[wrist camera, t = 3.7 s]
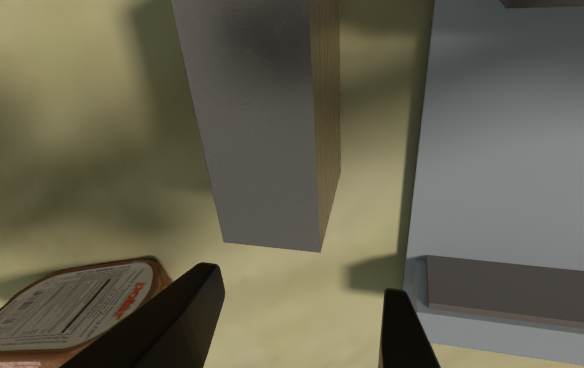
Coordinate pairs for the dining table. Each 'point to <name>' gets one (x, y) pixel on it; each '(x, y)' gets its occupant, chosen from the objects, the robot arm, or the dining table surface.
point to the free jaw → (541, 3)
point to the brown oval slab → (73, 310)
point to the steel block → (266, 113)
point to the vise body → (501, 182)
